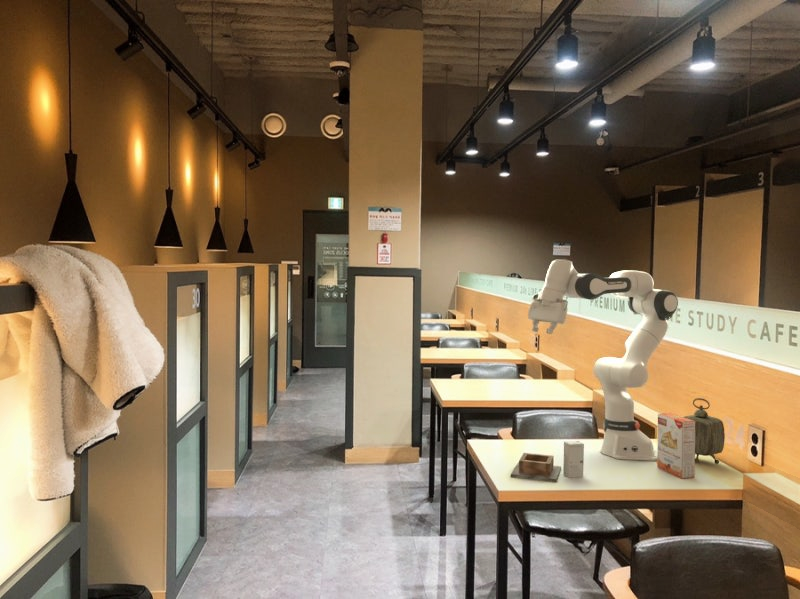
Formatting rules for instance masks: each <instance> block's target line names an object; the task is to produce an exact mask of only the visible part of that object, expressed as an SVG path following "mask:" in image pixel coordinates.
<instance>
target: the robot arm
mask: <svg viewBox="0 0 800 599" xmlns="http://www.w3.org/2000/svg"><path fill="white" fill-rule="evenodd" d="M548 267H549V268H548V269H547V273H546V276H545V283H544V285H543V287H542V290H541V291H539V292H537V293H535V294H533V295H532V297H531V300H532V302H531V303H530V306H529V309H528V312H527V317H528V319H529V320H531V321H532V329H531V331H532V332H534V333H538V332H539V329H540V328H539V326H538V325H539V323H540V322H544V323H550V324H549V325H550V326H549V327H548V328H547V329H546V334H548V335H553V332H554V330H555V329H556V328H557V326H558V324H561V325H563V324H565V322H566V319H567V315H568V304H569V303H568V301H567V300H566V299H565V297H568V298H569V299H585V300H589V301H592V300H596V299H598V298H600V297H602V296H603V295H607V294H609V295H610V294H611V295H612V296H613V297H616V298H627V305H628V306H627V307H628V309H629V310H630V311H631V312H632V313H634V314H636V315H643V316H642V317H643V318H642V321H641V322H640V323H639V324H638V325H637V326H636V328H635V329H634V330H633V332H632V333H631V334H630V335H629V337H628V338H627V340H625V343H624V349H625V351H626V352H625V354H624V356H623V357H621V358H618V357H613V356H607V357H606V356H605V357H602V358H601V357H600V358H598V359H597V360H596V362H595V363H594V366H593V373H594V375H595V377H596V378H597V379H598V382H599V383H600V386H601V389H602V391H603V395H604V396H603V397H604V408H605V409H604V415H605V416H604V418H603V433H604V435H603V440H602V441H603V442H602V444H601V449H600V452H601V454H603V455H605V456H609V457H613V458H614V459H617V460H632V461H651V462H654V461H657V452H658V450H654V444H653V442H652V440H651V438H649V437H648V435H646V434H645V433H643V432H642V431H641V430H640V428H641V425H640V423H639V421H638V420H635V419H634V415H635V413H634V412H635V402H634V399H633V398H632V397H631V395H630V394H629V392H628V389H627V388H629V389H639V388H643V387H644V386H645V385H646V384H647V382H648V379H649V371H648V369H647V366H648V365H647V364H648V362H649V359H650V358H651V356H652V355H653V353H654V352H655V350H656V349H657V348H658V346H659V345H660V344H661V342H662V341H663V339H664V338H665V335H666V334H667V332H668V329H669V323H668V320H670V319H671V318H672V317H673V315H674V314H675V313H676V311H677V309H678V307H679V306H678V305H679V300H678V296H677V295H676V293H674V292H673V291H670V290H667V289H656V288H654V285H655V284H654V279H653V277H652V275H651V274H650V273H648V272H645V271H641V270H640V271H639V270H633V269H631V270H620V271H616V272H613V273H611V275H609V277H603V276H601V275H599V274H597V273H594V272H593V273H592V272H589V273H579V272H578V271H577V270H576V269H575V267H574V265H573V261H571V260H568V259H561V258H560V259H554V260H552V261H551V263H550V265H549V266H548Z"/></svg>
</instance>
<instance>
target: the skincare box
mask: <svg viewBox="0 0 800 599" xmlns="http://www.w3.org/2000/svg"><path fill="white" fill-rule="evenodd" d="M584 449H585V443H583V442H581V441H580V440H575V441H574V440H570V441H563V470H562V471H563V473H562V474H563V475H564V476H565V477H567V478H581V477H582V478H583V477H584V465H585V464H584V461H585V460H584V457H585V455H584V452H585V450H584Z"/></svg>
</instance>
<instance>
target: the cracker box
mask: <svg viewBox="0 0 800 599" xmlns="http://www.w3.org/2000/svg"><path fill="white" fill-rule="evenodd" d="M695 459H696V454H695V421H693V420H690V419H687V418H684V416H681V415H677V414H675V413H672V412H665V413H664V412H663V413H661V412H660V413H657V460H656V461H657V463H656V464H657V466H656V467H657V468H658V469H660V470H662V471H665V472H666V473H669V474H671V475H673V476H674V477H677V478H680V479H681V480H683V479H684V480H685V479H692V478H695V476H696V466H695V465H696V462H695Z"/></svg>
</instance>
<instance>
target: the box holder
mask: <svg viewBox="0 0 800 599" xmlns="http://www.w3.org/2000/svg"><path fill="white" fill-rule="evenodd" d="M554 458H555V457H554V455H551V454H550V455H549V454H539V453H530V452H529V453H528V452H523V453H522V455H521V457H520V458H519V461H518V462H517V464H515V467H514V468H513V470H512V472H511V473H510V478H516V477H518V478H519V479H527V480H535V481H544V482H552V483H553V482H554V483H557V482H558V478H559V475H560V473H561V471H560V470H562V466H560V465H554Z"/></svg>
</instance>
